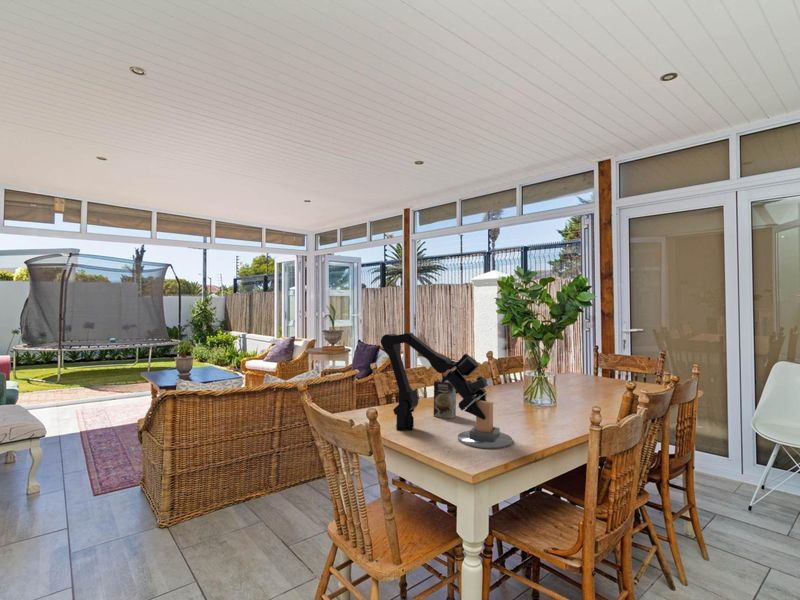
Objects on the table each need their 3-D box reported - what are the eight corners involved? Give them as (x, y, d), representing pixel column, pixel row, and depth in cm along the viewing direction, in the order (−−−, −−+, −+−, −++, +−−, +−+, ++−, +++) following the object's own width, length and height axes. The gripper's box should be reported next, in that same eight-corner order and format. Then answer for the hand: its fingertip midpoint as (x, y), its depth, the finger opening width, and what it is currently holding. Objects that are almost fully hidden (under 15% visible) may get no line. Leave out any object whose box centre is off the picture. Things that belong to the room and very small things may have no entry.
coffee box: (433, 416, 196) (433, 381, 196) (437, 413, 202) (437, 379, 202) (452, 418, 192) (452, 382, 192) (456, 415, 198) (456, 380, 198)
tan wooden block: (476, 438, 160) (476, 403, 161) (479, 434, 165) (480, 400, 165) (489, 440, 158) (489, 404, 158) (492, 436, 163) (492, 401, 163)
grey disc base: (450, 443, 157) (450, 432, 157) (467, 429, 175) (467, 419, 175) (505, 452, 148) (505, 440, 148) (517, 436, 166) (517, 426, 166)
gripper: (467, 373, 155) (497, 407, 150) (481, 367, 172) (509, 397, 167) (446, 393, 159) (475, 427, 154) (462, 385, 176) (489, 415, 170)
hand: (488, 416), depth 161 cm, fingers open, 9 cm apart
